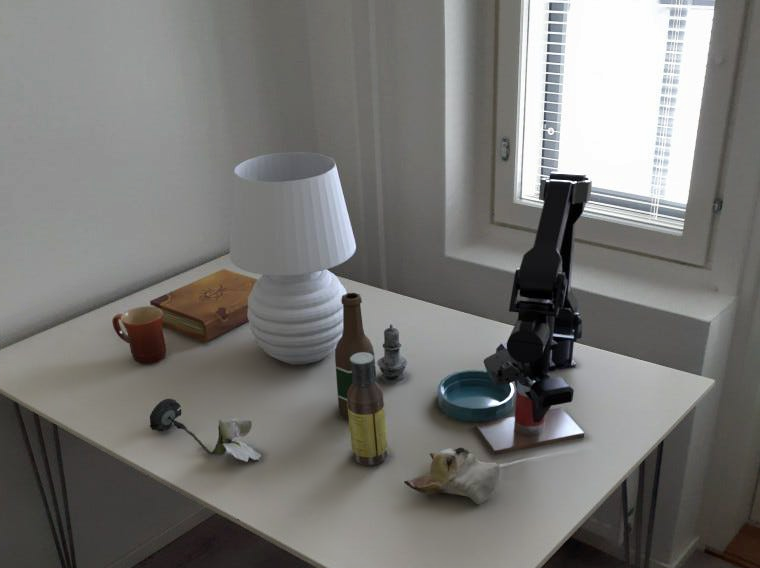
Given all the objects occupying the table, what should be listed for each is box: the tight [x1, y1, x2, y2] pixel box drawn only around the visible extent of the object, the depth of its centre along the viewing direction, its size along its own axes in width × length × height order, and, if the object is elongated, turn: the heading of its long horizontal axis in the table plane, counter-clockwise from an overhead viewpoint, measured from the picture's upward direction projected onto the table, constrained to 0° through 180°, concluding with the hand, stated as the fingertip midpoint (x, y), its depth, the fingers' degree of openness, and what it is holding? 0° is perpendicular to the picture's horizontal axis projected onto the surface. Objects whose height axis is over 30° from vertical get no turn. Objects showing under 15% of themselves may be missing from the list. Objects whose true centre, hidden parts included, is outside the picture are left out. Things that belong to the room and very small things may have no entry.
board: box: [474, 407, 585, 456], centre depth 154 cm, size 17×9×1 cm, turn 105°
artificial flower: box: [149, 398, 262, 463], centre depth 155 cm, size 9×22×10 cm, turn 50°
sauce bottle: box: [347, 352, 388, 467], centre depth 146 cm, size 6×6×20 cm
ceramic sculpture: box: [403, 447, 502, 505], centre depth 139 cm, size 11×9×15 cm
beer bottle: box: [334, 292, 377, 421], centre depth 157 cm, size 8×8×24 cm
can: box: [514, 375, 545, 436], centre depth 151 cm, size 5×5×10 cm
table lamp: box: [229, 151, 357, 365], centre depth 174 cm, size 25×25×40 cm
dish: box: [437, 369, 516, 423], centre depth 163 cm, size 14×14×3 cm
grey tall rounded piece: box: [377, 324, 408, 384], centre depth 171 cm, size 6×6×12 cm
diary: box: [149, 268, 259, 344], centre depth 201 cm, size 23×19×6 cm
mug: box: [112, 305, 167, 365], centre depth 184 cm, size 12×9×10 cm
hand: (530, 413), depth 152 cm, fingers closed on can, 5 cm apart
